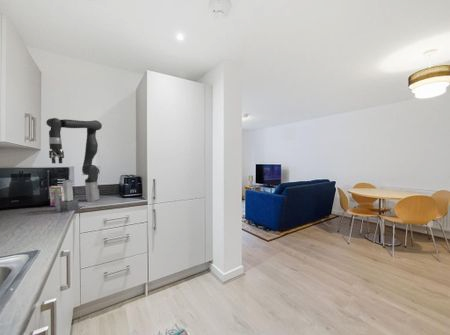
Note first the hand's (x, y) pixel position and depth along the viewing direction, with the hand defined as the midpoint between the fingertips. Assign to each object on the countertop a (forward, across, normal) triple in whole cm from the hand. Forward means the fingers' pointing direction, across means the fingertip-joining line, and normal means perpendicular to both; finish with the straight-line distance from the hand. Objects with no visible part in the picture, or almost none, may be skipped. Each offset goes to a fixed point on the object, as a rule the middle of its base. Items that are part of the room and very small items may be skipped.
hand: (57, 163), depth 158 cm
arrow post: (+36, -16, +10) cm, 41 cm away
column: (+29, -16, +3) cm, 33 cm away
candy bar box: (+36, +6, -2) cm, 37 cm away
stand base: (+36, -16, +3) cm, 40 cm away
